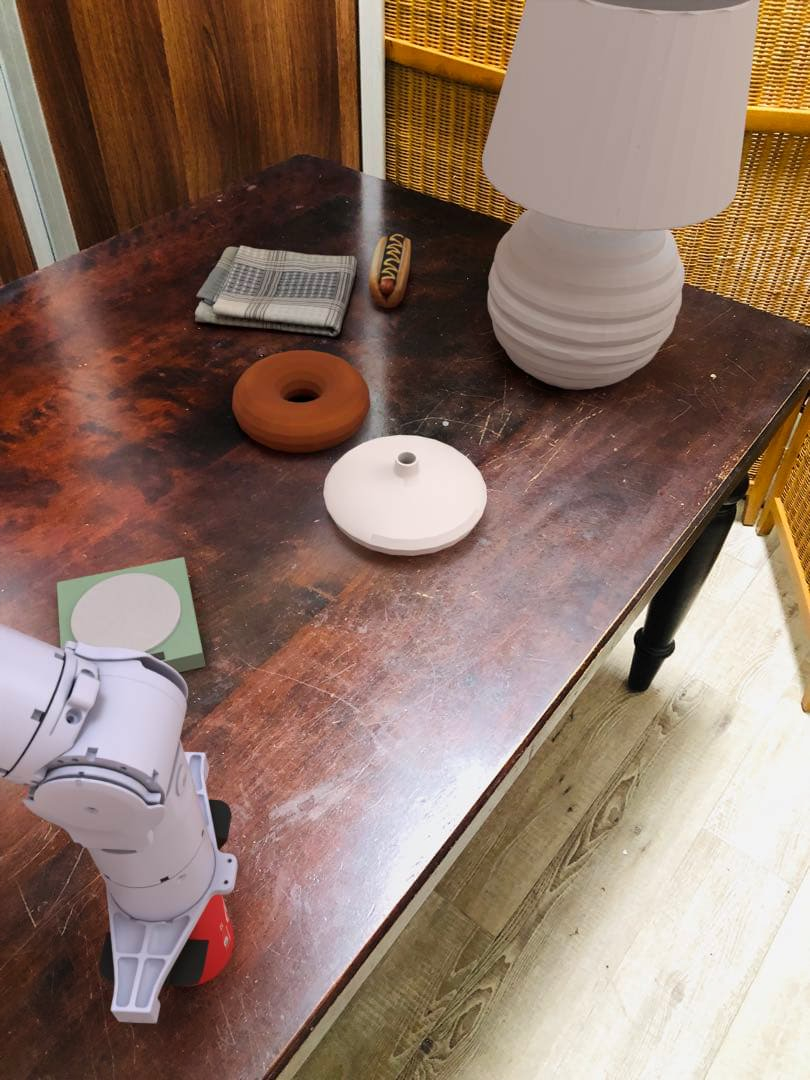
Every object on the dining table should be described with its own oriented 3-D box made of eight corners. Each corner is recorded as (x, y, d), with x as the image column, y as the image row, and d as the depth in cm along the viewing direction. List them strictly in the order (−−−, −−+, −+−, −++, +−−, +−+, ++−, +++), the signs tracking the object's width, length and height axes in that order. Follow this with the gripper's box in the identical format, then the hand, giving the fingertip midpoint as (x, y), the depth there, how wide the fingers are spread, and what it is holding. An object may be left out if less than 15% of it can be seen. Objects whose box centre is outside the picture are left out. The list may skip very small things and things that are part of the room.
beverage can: (147, 929, 59) (108, 853, 50) (222, 897, 60) (197, 818, 52) (167, 1006, 56) (129, 939, 47) (246, 970, 57) (224, 899, 49)
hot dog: (363, 314, 111) (363, 279, 107) (375, 261, 120) (376, 226, 116) (403, 317, 110) (404, 282, 107) (412, 264, 119) (413, 229, 116)
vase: (304, 477, 90) (301, 423, 85) (447, 445, 94) (452, 392, 89) (353, 589, 80) (352, 536, 75) (511, 548, 84) (520, 494, 79)
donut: (271, 481, 89) (267, 443, 86) (212, 402, 98) (206, 364, 94) (396, 434, 95) (397, 397, 91) (330, 363, 103) (328, 326, 100)
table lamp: (711, 353, 107) (839, -25, 78) (614, 461, 93) (727, 47, 64) (533, 283, 117) (588, -76, 88) (421, 370, 103) (442, -23, 74)
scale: (68, 698, 71) (61, 681, 69) (62, 596, 78) (55, 579, 76) (205, 666, 73) (201, 649, 72) (187, 571, 81) (183, 553, 79)
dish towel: (360, 266, 119) (360, 244, 116) (339, 341, 106) (339, 318, 104) (225, 255, 119) (222, 232, 117) (189, 328, 107) (185, 305, 105)
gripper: (198, 988, 40) (231, 1062, 50) (247, 715, 50) (267, 822, 60) (45, 980, 40) (108, 1056, 50) (125, 709, 50) (164, 817, 60)
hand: (187, 928), depth 55 cm, fingers open, 5 cm apart
